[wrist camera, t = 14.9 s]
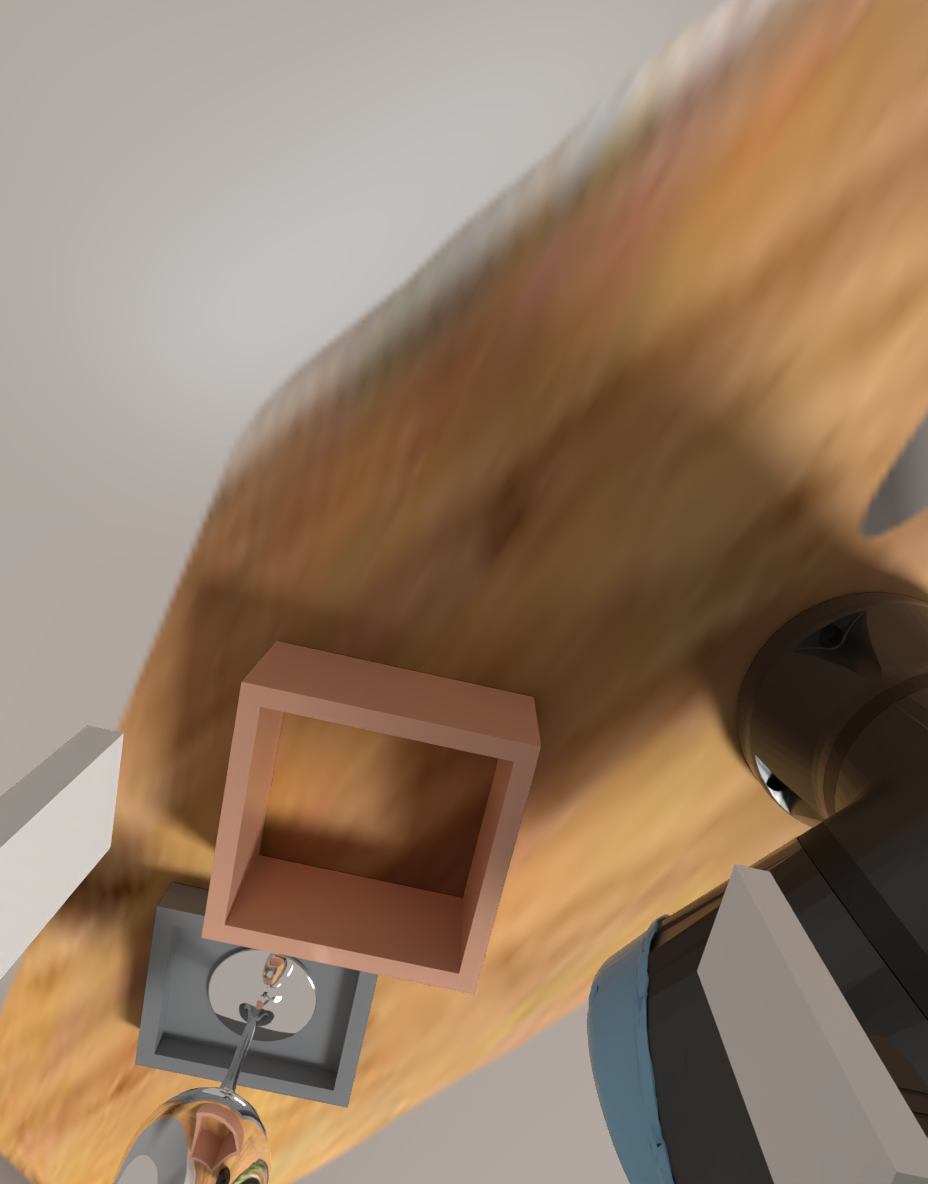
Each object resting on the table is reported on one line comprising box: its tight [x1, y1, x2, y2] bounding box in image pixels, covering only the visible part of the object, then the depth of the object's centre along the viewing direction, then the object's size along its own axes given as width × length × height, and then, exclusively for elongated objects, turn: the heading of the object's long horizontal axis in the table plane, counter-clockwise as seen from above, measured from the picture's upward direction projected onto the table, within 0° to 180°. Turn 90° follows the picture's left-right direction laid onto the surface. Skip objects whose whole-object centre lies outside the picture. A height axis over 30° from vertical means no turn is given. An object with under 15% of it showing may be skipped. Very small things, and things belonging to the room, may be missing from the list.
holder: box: [201, 641, 541, 995], centre depth 46 cm, size 16×16×7 cm
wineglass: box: [112, 948, 318, 1184], centre depth 43 cm, size 8×8×20 cm
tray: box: [135, 882, 378, 1108], centre depth 53 cm, size 15×13×2 cm
